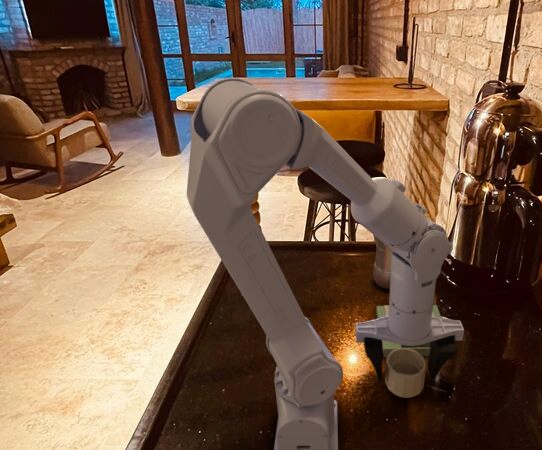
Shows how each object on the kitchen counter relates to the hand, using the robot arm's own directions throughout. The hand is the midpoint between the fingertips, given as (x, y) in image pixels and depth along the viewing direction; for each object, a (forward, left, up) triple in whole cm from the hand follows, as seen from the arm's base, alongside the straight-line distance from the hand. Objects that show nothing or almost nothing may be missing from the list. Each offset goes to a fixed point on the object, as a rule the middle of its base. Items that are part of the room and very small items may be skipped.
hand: (405, 375), depth 60 cm
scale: (+11, -3, -2) cm, 12 cm away
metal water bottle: (+26, -1, -2) cm, 26 cm away
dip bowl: (0, 0, -2) cm, 2 cm away
